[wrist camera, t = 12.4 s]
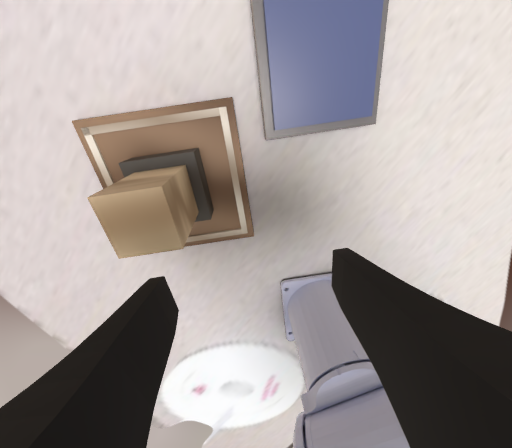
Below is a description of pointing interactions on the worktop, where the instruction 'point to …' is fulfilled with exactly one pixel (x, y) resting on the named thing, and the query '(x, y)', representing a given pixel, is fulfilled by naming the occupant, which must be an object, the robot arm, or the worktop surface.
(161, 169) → the stamp
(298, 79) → the ink pad
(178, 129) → the board
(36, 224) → the worktop surface
